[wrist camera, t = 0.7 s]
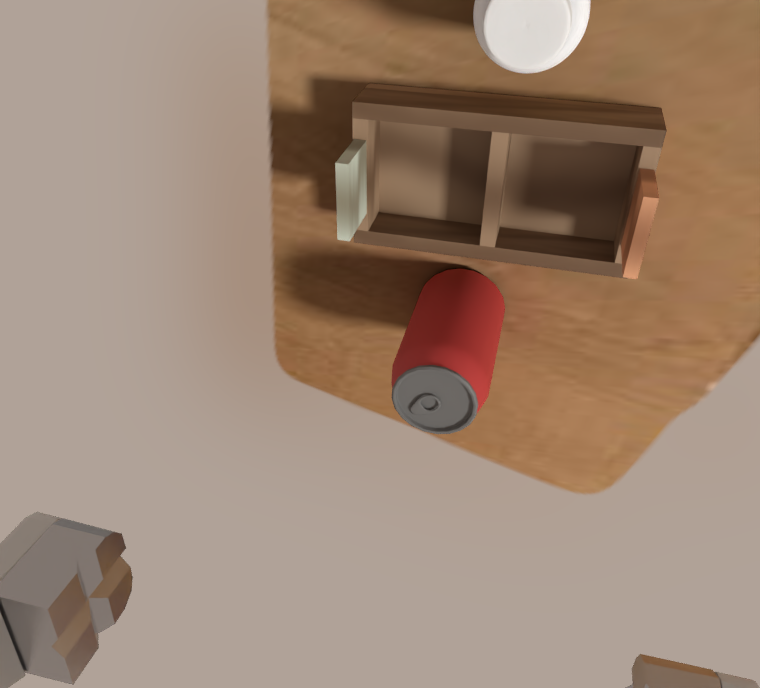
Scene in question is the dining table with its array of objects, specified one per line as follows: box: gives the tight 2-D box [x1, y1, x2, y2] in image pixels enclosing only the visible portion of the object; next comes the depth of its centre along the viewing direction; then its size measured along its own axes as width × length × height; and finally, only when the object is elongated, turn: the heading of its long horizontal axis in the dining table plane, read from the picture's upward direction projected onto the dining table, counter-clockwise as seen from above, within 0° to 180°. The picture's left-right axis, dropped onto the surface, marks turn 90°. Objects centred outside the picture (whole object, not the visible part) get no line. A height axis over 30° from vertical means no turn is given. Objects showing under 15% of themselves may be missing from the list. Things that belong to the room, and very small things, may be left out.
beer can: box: [392, 269, 505, 434], centre depth 48 cm, size 7×7×12 cm
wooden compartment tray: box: [335, 83, 667, 279], centre depth 43 cm, size 10×18×8 cm, turn 89°
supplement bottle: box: [473, 0, 591, 73], centre depth 35 cm, size 6×6×10 cm
